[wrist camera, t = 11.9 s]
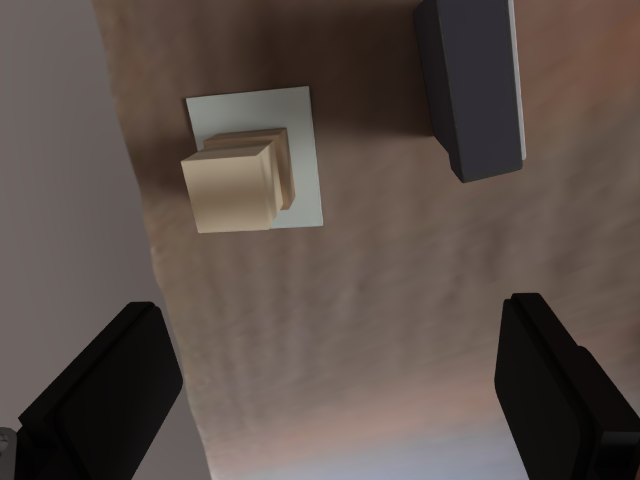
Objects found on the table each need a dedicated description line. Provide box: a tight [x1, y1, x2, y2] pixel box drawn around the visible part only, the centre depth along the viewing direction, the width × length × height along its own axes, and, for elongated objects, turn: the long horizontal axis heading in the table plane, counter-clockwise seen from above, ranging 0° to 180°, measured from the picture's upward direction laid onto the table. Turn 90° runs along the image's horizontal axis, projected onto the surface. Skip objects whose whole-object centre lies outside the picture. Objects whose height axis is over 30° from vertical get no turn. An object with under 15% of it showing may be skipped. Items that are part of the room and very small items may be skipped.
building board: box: [186, 86, 323, 228], centre depth 40 cm, size 14×12×1 cm
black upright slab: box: [413, 0, 526, 183], centre depth 28 cm, size 11×4×15 cm, turn 16°
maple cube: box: [181, 140, 283, 233], centre depth 33 cm, size 6×6×6 cm
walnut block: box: [203, 128, 296, 210], centre depth 38 cm, size 7×7×4 cm
